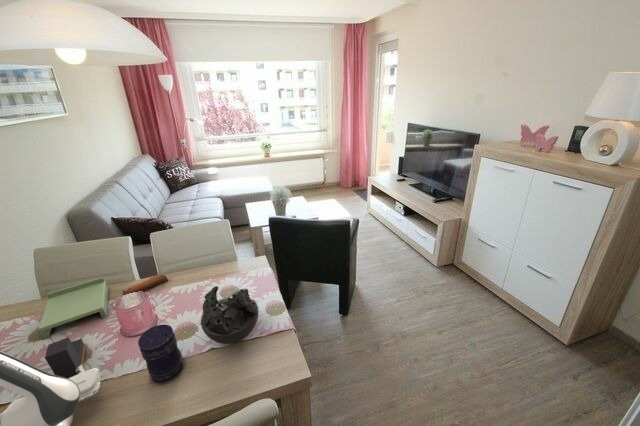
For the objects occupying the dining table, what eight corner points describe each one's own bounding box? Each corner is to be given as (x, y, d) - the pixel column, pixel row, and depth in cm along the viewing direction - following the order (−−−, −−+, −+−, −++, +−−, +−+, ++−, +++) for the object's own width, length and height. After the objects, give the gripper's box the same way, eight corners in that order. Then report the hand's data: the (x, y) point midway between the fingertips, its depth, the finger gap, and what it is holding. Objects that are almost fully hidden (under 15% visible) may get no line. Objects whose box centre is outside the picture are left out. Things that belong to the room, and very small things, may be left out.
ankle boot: (60, 385, 93) (44, 358, 88) (66, 352, 104) (52, 326, 100) (81, 376, 95) (66, 349, 90) (85, 345, 107) (72, 320, 102)
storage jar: (146, 386, 91) (131, 351, 85) (157, 359, 100) (144, 326, 94) (179, 380, 92) (167, 346, 86) (187, 354, 101) (177, 322, 95)
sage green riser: (43, 339, 111) (35, 325, 108) (53, 306, 128) (47, 293, 125) (106, 316, 120) (100, 303, 117) (108, 288, 137) (103, 276, 134)
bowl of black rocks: (268, 343, 104) (261, 301, 97) (209, 366, 96) (198, 323, 89) (254, 308, 121) (247, 271, 113) (203, 326, 113) (192, 286, 105)
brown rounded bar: (161, 273, 146) (161, 266, 141) (168, 284, 143) (167, 277, 139) (120, 291, 134) (118, 284, 130) (127, 303, 132) (125, 296, 127)
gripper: (95, 385, 82) (98, 351, 92) (-5, 429, 72) (11, 385, 82) (103, 400, 84) (105, 365, 95) (7, 444, 74) (21, 400, 85)
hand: (60, 375), depth 89 cm, fingers open, 8 cm apart
